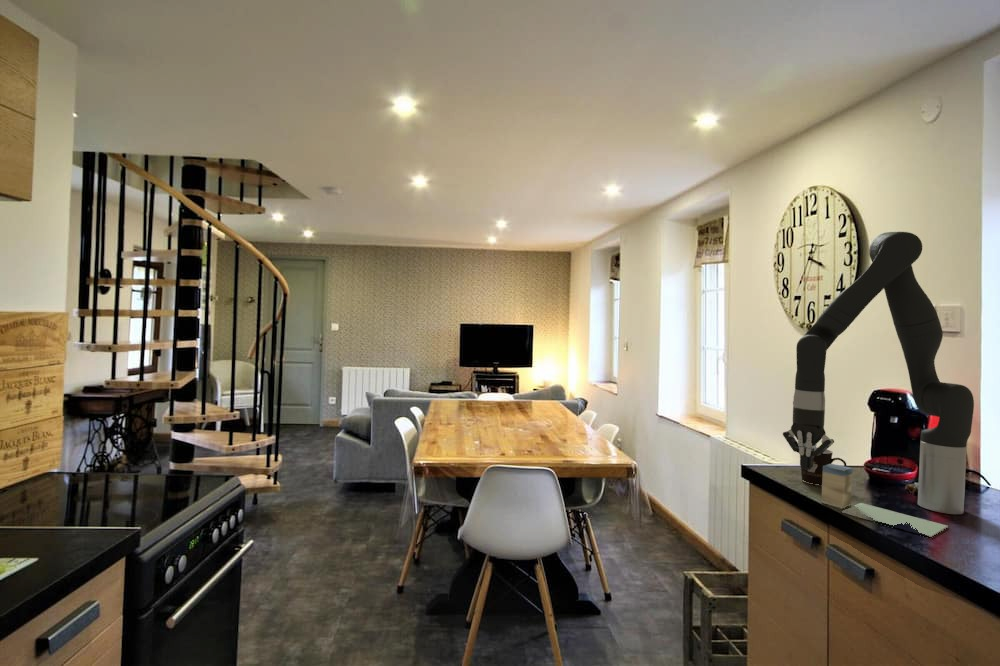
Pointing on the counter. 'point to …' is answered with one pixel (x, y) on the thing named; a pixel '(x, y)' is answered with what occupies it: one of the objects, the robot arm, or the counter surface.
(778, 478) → the counter surface
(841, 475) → the maple block
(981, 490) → the counter surface
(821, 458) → the coffee mug
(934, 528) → the green mat
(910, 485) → the wrapped sandwich
